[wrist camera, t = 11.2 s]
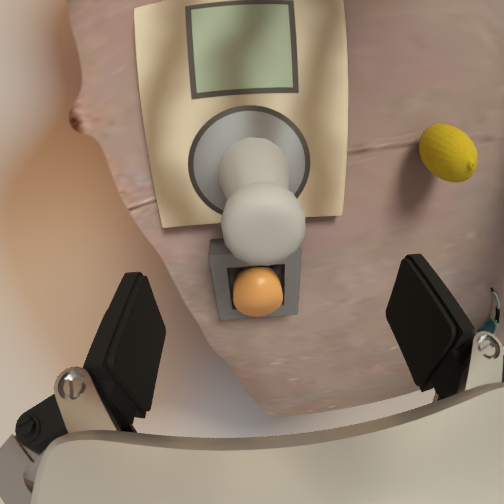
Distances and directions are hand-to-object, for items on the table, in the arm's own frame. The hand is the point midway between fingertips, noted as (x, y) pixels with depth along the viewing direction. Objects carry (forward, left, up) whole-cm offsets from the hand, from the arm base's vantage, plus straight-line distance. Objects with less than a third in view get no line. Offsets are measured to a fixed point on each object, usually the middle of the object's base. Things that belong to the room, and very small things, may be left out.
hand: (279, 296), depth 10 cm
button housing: (0, +13, -18) cm, 22 cm away
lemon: (-19, -2, -19) cm, 26 cm away
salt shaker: (0, 0, -17) cm, 17 cm away
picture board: (0, -5, -18) cm, 19 cm away
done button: (0, +13, -16) cm, 21 cm away
